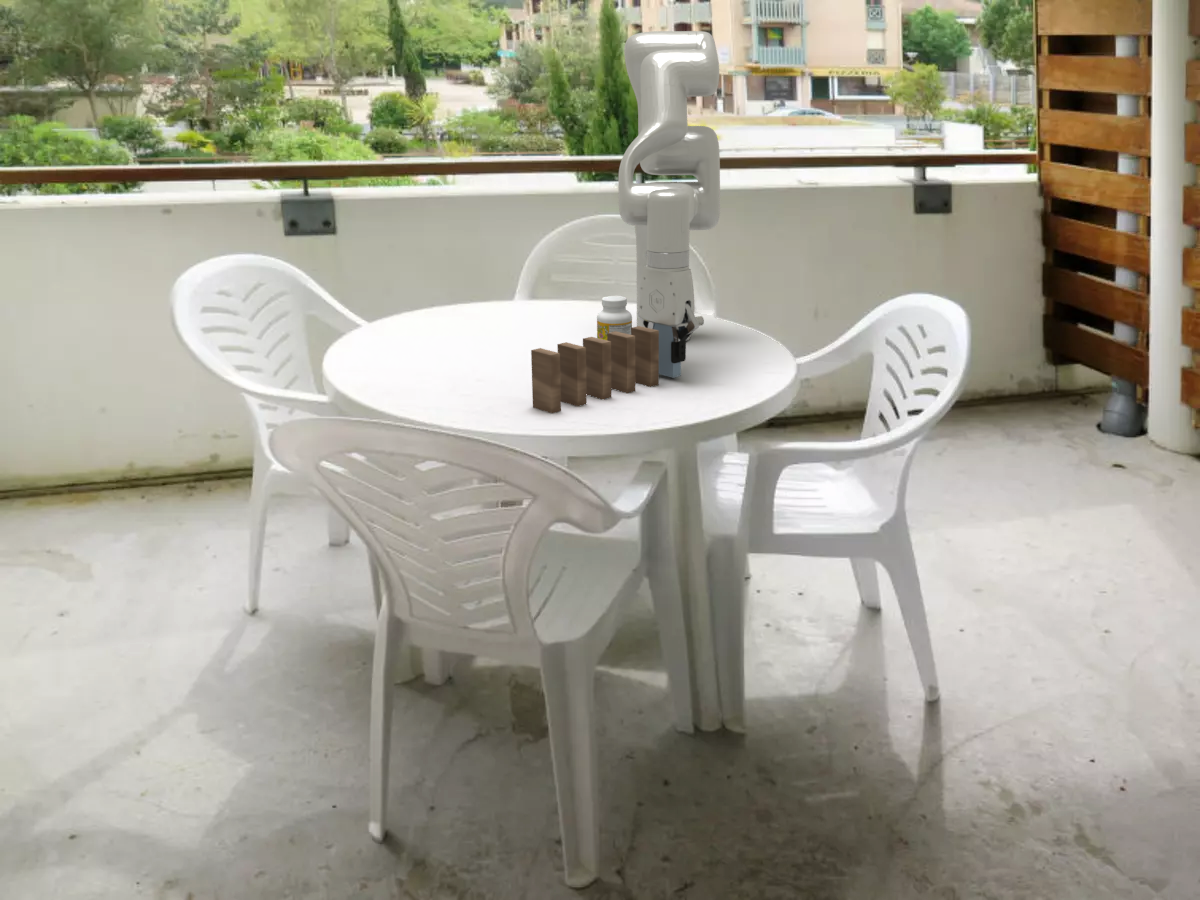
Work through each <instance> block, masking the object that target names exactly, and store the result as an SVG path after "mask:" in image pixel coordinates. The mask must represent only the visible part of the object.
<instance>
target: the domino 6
mask: <svg viewBox="0 0 1200 900" xmlns="http://www.w3.org/2000/svg"><path fill="white" fill-rule="evenodd" d="M678 328H679V333H680V331H681V327H678ZM654 330H659V375H660V376H661V375H662V376H664V377H669V378H677V377H680V376H682V362H679V363H675V364H674V363H672V362H671V342H673V341H674V338H673V333H672V327H671V326H666V325H661V324H657V323H655V324H654Z"/></svg>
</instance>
